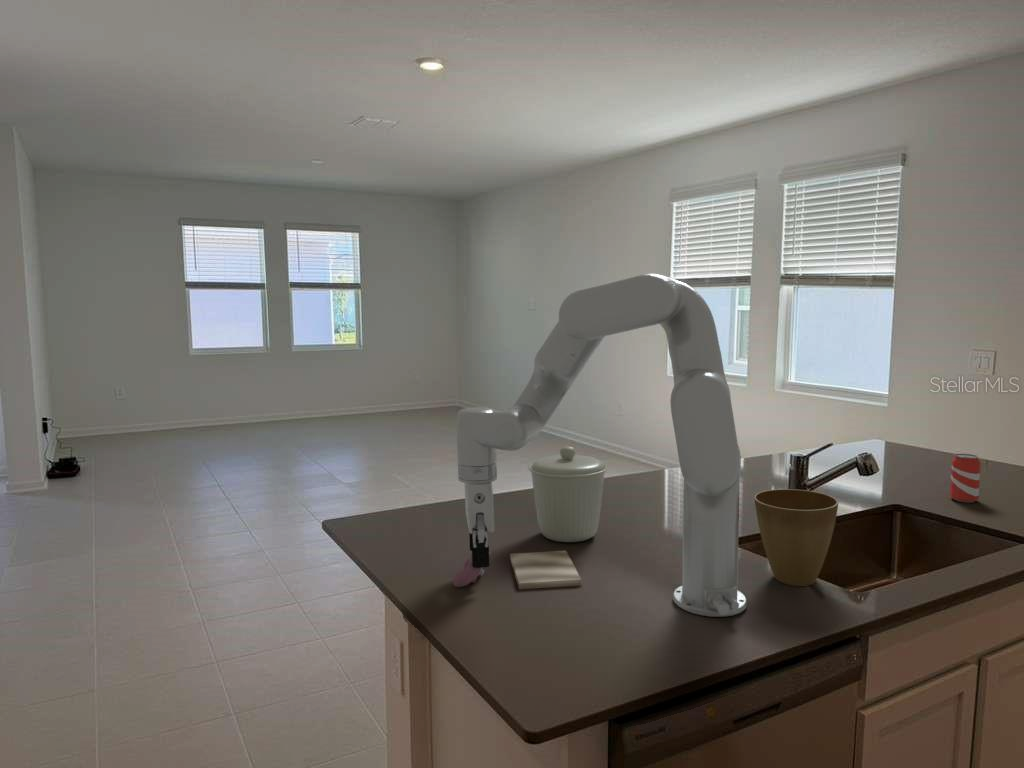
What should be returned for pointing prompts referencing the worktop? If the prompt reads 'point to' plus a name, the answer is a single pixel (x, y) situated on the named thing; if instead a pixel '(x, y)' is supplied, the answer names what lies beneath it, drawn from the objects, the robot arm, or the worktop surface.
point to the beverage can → (965, 478)
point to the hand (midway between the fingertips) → (479, 558)
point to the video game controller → (467, 574)
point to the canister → (568, 495)
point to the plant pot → (796, 532)
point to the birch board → (544, 570)
